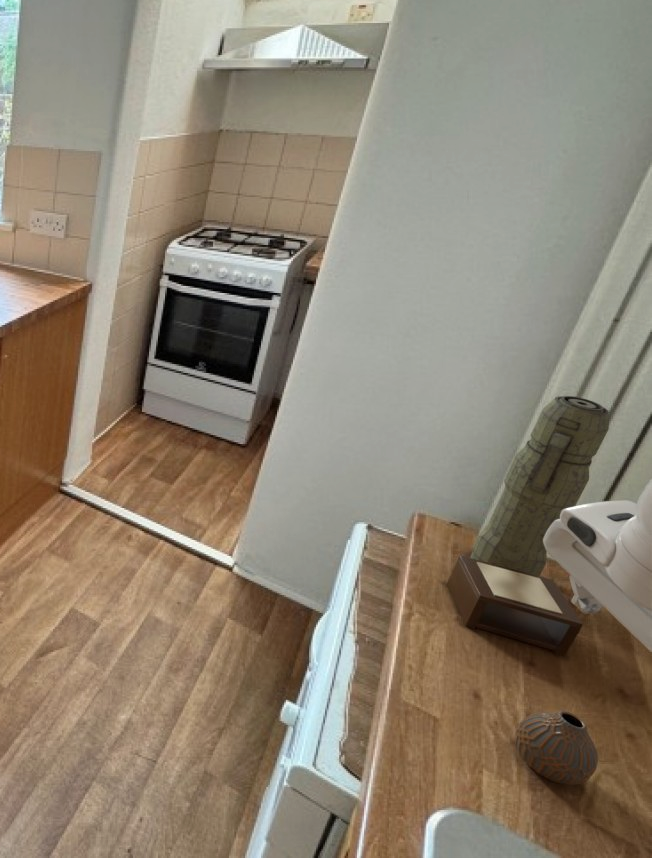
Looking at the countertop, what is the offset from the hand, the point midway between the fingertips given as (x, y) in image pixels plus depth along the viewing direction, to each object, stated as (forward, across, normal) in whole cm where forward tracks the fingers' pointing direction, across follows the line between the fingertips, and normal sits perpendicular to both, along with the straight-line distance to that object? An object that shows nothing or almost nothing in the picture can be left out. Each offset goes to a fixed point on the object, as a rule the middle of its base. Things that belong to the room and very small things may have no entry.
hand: (624, 647), depth 66 cm
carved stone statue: (+38, +32, -20) cm, 53 cm away
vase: (+25, -2, +3) cm, 25 cm away
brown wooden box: (+33, +21, -11) cm, 41 cm away
